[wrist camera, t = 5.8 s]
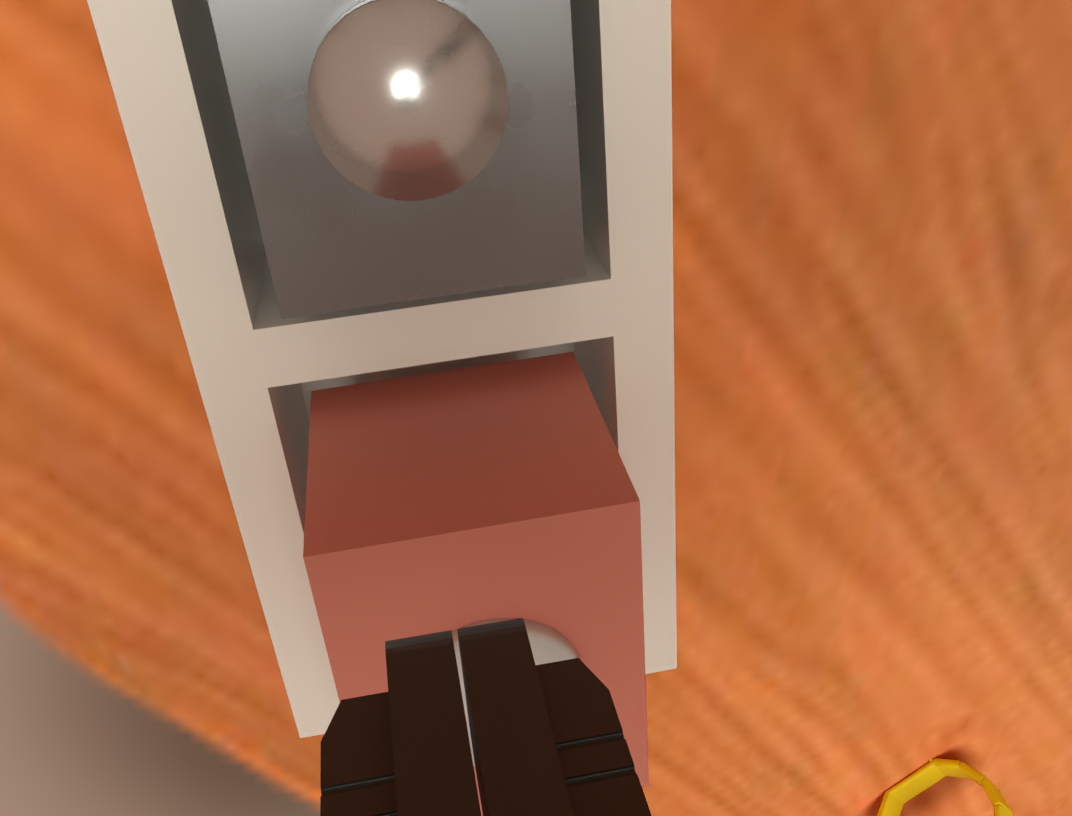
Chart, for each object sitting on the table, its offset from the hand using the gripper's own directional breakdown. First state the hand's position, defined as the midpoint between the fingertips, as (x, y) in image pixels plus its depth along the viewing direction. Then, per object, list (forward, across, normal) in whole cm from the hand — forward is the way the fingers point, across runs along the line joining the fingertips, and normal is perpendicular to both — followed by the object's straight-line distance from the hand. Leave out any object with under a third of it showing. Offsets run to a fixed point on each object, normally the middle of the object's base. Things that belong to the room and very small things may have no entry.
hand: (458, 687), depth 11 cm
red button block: (+16, -1, +9) cm, 18 cm away
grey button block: (+20, -1, -3) cm, 20 cm away
